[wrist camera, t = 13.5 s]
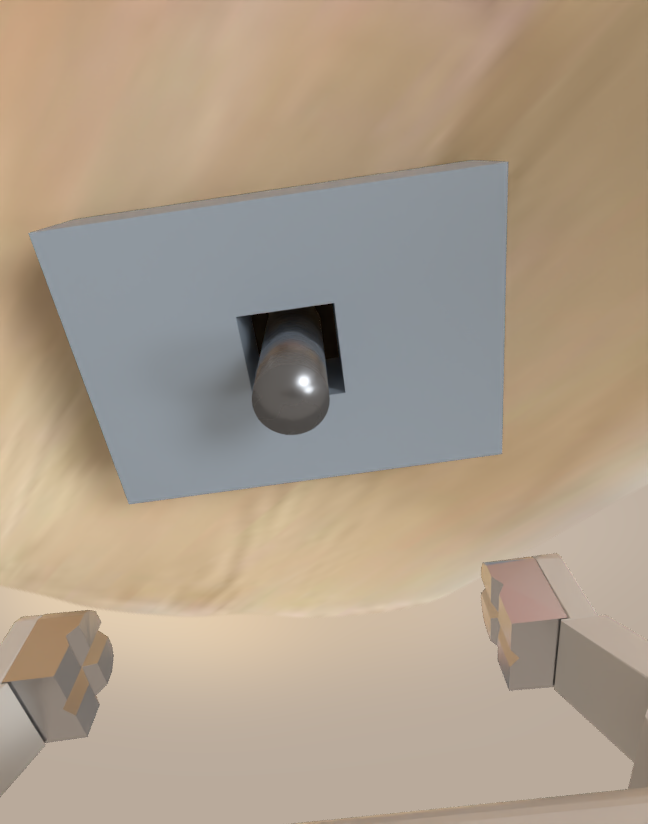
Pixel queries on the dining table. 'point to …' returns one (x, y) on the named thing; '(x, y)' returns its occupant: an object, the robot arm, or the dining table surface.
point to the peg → (292, 373)
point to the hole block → (281, 290)
